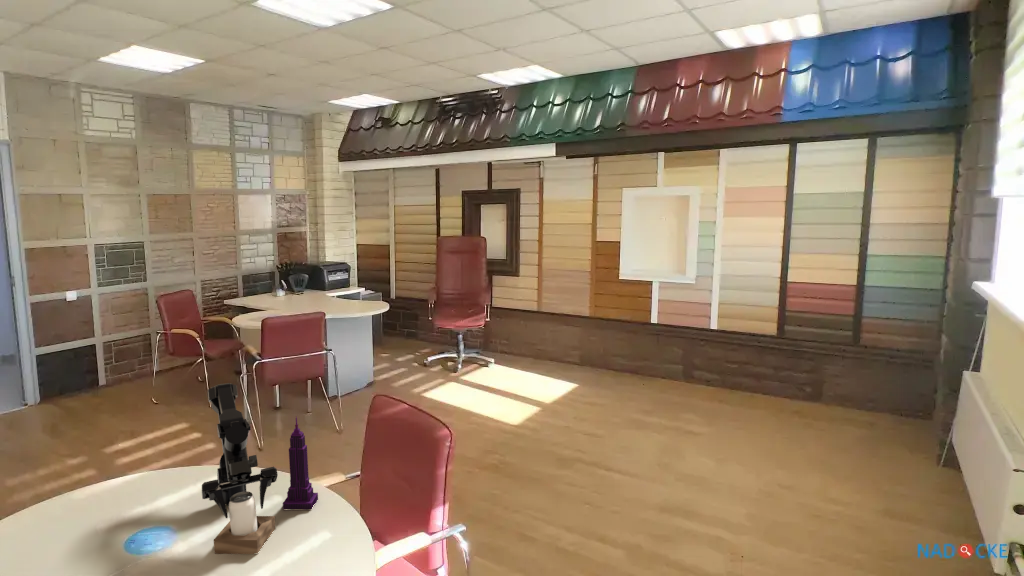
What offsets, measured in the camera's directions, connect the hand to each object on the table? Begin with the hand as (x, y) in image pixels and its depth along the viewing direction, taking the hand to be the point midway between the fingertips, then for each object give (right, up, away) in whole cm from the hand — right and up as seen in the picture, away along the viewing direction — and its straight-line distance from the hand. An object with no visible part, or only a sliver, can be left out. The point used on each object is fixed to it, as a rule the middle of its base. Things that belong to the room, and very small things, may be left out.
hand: (244, 512), depth 153 cm
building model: (+7, -6, +21) cm, 23 cm away
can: (-1, -8, +3) cm, 8 cm away
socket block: (-1, -9, +3) cm, 9 cm away
